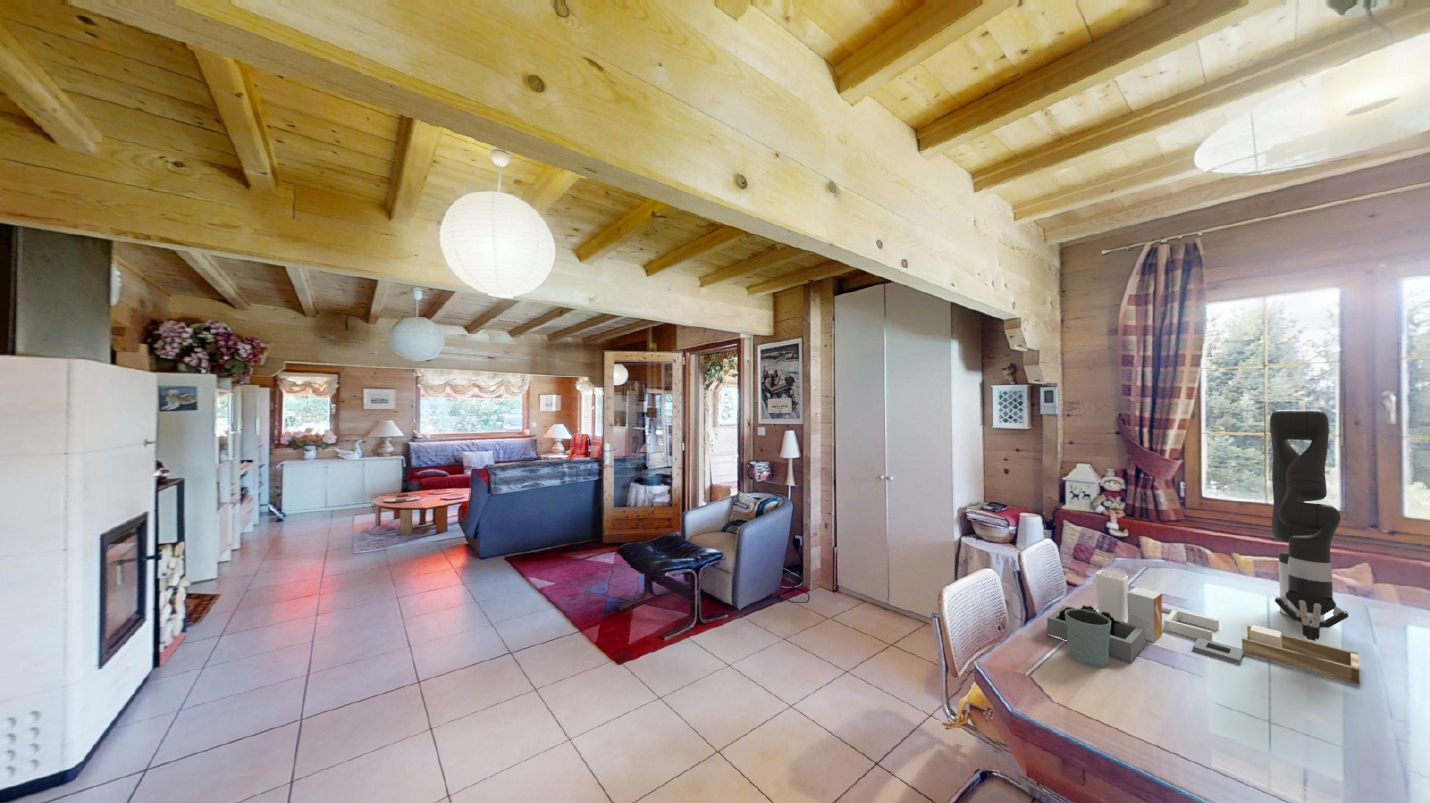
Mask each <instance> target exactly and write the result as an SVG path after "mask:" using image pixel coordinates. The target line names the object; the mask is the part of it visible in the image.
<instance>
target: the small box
mask: <svg viewBox="0 0 1430 803" xmlns="http://www.w3.org/2000/svg"><path fill="white" fill-rule="evenodd" d="M1162 594H1163V593H1162V592H1159V591H1154V590H1150V589H1146V588H1142V587H1138V586H1135V587H1133V588H1132V589H1130V590H1128V593H1127V600H1128V605H1127V623H1128V624H1132V625H1135V626H1139V627H1142V628H1145V641H1149V642H1151V643H1152V642H1153V643H1155V642H1156V641H1157V640H1158V639H1160V637H1162V636H1163V612H1162V607H1163V603H1162V602H1163V598H1162V597H1163V595H1162Z"/></svg>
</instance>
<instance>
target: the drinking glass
mask: <svg viewBox="0 0 1430 803" xmlns="http://www.w3.org/2000/svg"><path fill="white" fill-rule="evenodd" d="M1065 619H1066V624H1067V626H1066V627H1067V640H1068V642H1067V649H1068V655H1069V657H1070V658H1071V659H1072V660H1074V662H1078V663H1079V664H1081V665H1085V666H1087V665H1088V666H1087V667H1091V666H1093V667H1092V668H1098V667H1102V668H1105V666H1106V667H1108V665H1109V657H1110V656H1109V653H1108V648H1109V639H1110V629H1111V620H1110V619H1109V618H1107V617H1106V616H1104V615H1102V614H1099V612H1098V613H1096V612H1093V611H1089V610H1084V609H1081V608H1076V609H1068V610H1066V611H1065Z"/></svg>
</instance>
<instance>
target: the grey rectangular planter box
mask: <svg viewBox="0 0 1430 803" xmlns="http://www.w3.org/2000/svg"><path fill="white" fill-rule="evenodd" d="M1066 607H1069V606H1067V605H1062V606H1061V607H1060V608H1058V609H1057V610H1056V611H1054V612H1053V613H1051V614H1050V615H1049V616H1047V618H1046V621H1047V622H1046V623H1047V624H1046V625H1047V627H1046V628H1047V635H1048V634H1050V635H1053V636H1057V637H1060V638H1062V639H1064V640H1067V627H1066V626H1067V624H1066V621H1063V620H1060V619H1059V613H1060V611H1062V610H1063V609H1065V608H1066ZM1074 608H1075V607H1074ZM1075 609H1077V608H1075ZM1115 621H1118V620H1115ZM1118 622H1119V623H1120V624H1118V623H1115V624H1114V635H1115V636H1112V635H1110V639H1109V648H1108V653H1109V657H1110V658H1113V657H1114V658H1113V659H1116V658H1117V660H1120V661H1122V660H1123V662H1125V661H1126V662H1125V663H1128V664H1133V663H1134V661H1135V660H1136V659H1137V658H1136V657H1138V656H1139V655H1140V654H1141V653H1142V652H1143V650H1144V649H1145V648H1146V640H1145V628H1142V627H1139V626H1135V625H1132V624H1128V622H1125V621H1123V622H1121V621H1118ZM1067 641H1068V640H1067ZM1143 648H1144V649H1143ZM1132 662H1133V663H1132Z"/></svg>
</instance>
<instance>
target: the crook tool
mask: <svg viewBox="0 0 1430 803" xmlns="http://www.w3.org/2000/svg"><path fill="white" fill-rule="evenodd" d="M1173 609H1174V608H1168V607H1163V606H1162V613H1167V614H1170V612H1171V611H1172V610H1173Z"/></svg>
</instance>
